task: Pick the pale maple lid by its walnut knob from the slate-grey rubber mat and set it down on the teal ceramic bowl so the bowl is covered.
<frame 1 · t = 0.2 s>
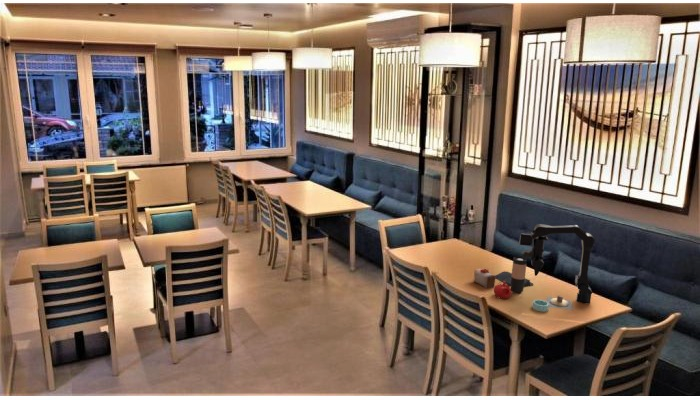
hand: (535, 272, 293), 14 cm above the table, fingers open, 9 cm apart
bowl: (540, 309, 278), on the table
travel mug: (516, 291, 303), on the table
pomegranate: (502, 297, 294), on the table
mat: (559, 304, 286), on the table
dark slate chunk: (512, 282, 318), on the table
lid: (559, 303, 285), point 1 cm above the table, touching mat
food item: (483, 284, 311), on the table
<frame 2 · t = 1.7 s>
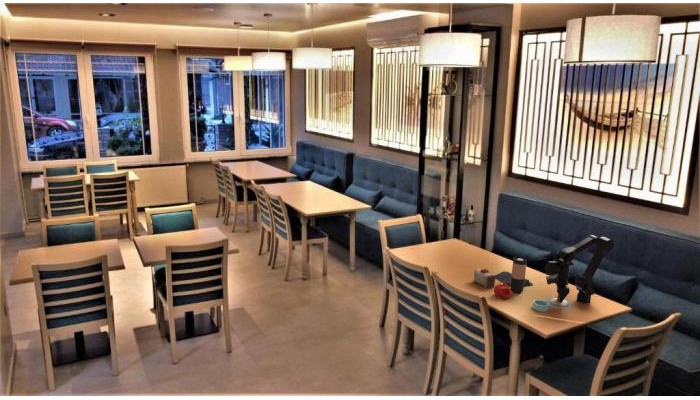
hand: (560, 299, 285), 3 cm above the table, fingers open, 9 cm apart
travel mug: (516, 291, 303), on the table, touching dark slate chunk
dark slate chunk: (512, 282, 318), on the table, touching travel mug
everything else where it was.
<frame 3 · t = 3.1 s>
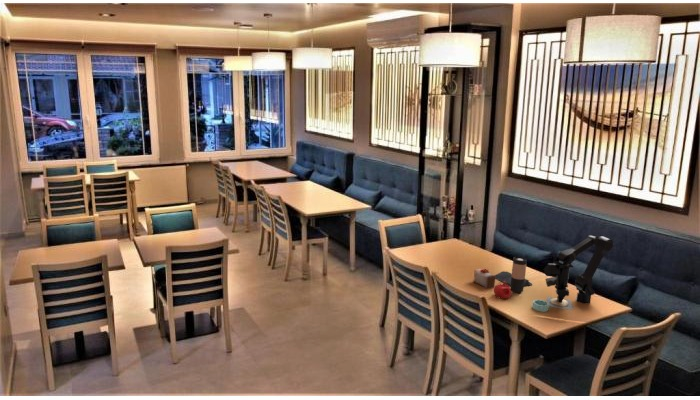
hand: (559, 301, 285), 2 cm above the table, fingers closed on lid, 3 cm apart
travel mug: (516, 291, 303), on the table
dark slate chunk: (511, 282, 318), on the table
lid: (559, 303, 285), point 1 cm above the table, touching gripper, mat
everything else where it was.
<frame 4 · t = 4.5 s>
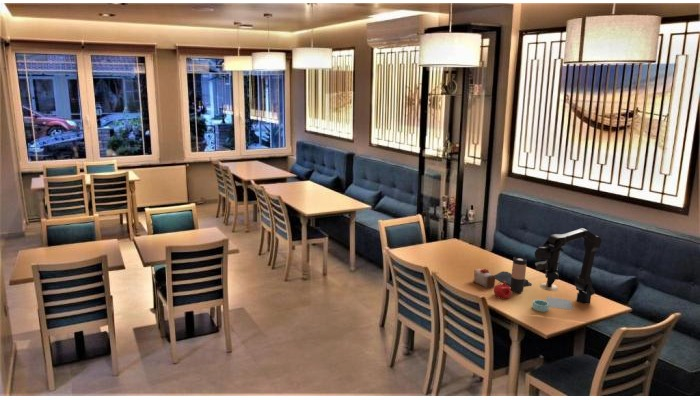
hand: (548, 285, 278), 13 cm above the table, fingers closed on lid, 3 cm apart
lid: (548, 287, 278), point 12 cm above the table, touching gripper
everything else where it was.
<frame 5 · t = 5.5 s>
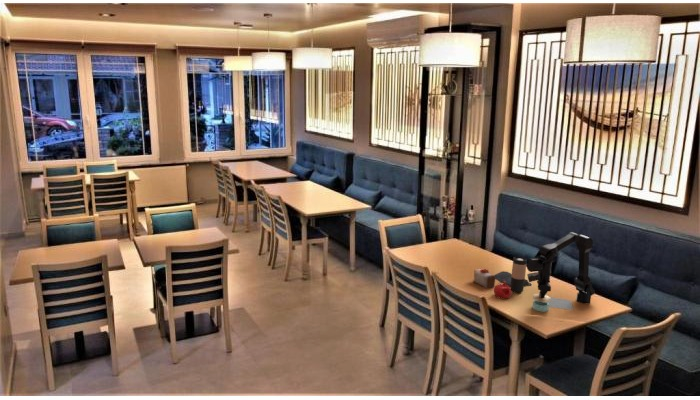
hand: (541, 296, 277), 7 cm above the table, fingers closed on lid, 3 cm apart
lid: (541, 298, 277), point 6 cm above the table, touching gripper
everything else where it was.
when the fingers open (7 cm above the table, at t = 6.2 s): lid drops 2 cm, resting on bowl.
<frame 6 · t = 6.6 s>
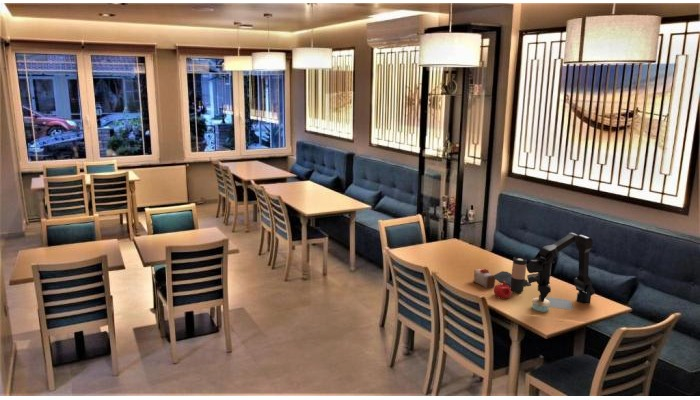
hand: (541, 298, 277), 7 cm above the table, fingers open, 7 cm apart
travel mug: (516, 291, 303), on the table, touching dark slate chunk
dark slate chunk: (510, 282, 318), on the table, touching travel mug
lid: (540, 302, 277), point 4 cm above the table, touching bowl
everything else where it was.
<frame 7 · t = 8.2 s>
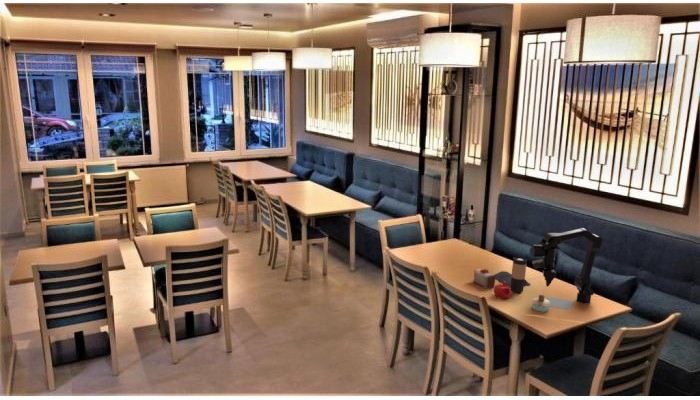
hand: (546, 283, 284), 12 cm above the table, fingers open, 9 cm apart
travel mug: (516, 291, 303), on the table
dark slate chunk: (510, 282, 318), on the table
everything else where it was.
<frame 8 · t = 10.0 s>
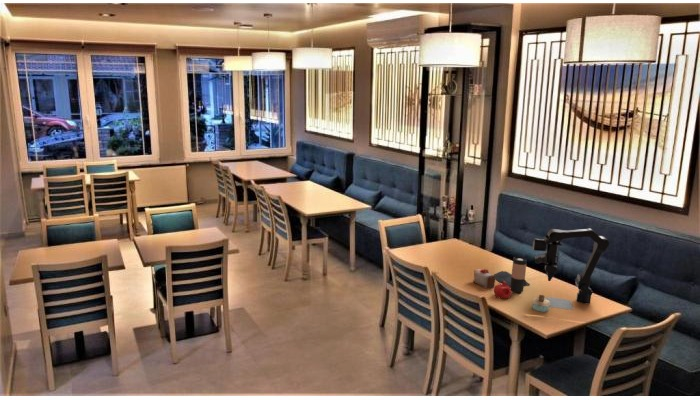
hand: (548, 278, 290), 13 cm above the table, fingers open, 9 cm apart
nothing on the table moved.
at the end: lid 0.0 cm off-centre on the bowl, point 4.0 cm above the bowl's base; lid tilted 0°; the gripper is holding nothing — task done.
